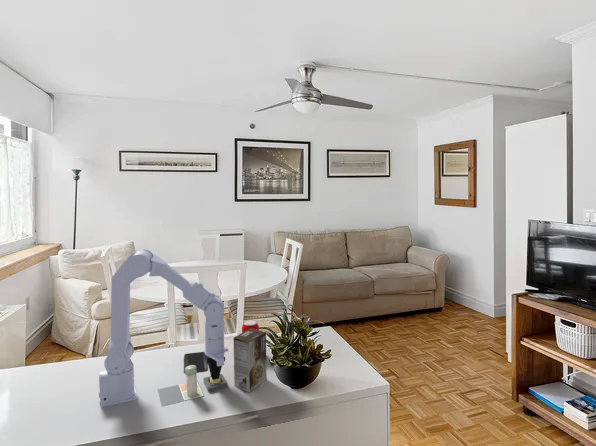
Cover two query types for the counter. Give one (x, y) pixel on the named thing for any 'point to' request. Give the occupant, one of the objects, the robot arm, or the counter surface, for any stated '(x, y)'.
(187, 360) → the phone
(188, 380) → the marker
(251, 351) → the coffee box
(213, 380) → the button
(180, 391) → the picture board
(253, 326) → the beverage can
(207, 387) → the button collar
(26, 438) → the counter surface
